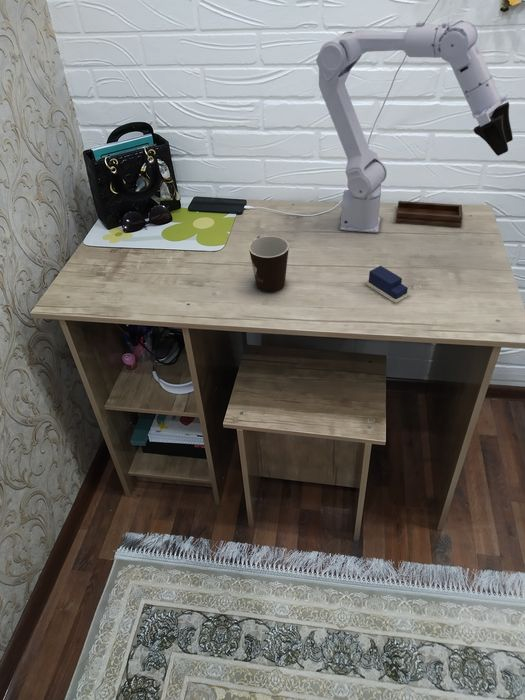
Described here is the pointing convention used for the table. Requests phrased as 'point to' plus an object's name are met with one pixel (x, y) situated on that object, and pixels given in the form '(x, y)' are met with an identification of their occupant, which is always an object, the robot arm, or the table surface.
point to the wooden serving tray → (429, 214)
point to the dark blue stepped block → (387, 284)
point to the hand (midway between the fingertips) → (505, 147)
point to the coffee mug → (269, 262)
